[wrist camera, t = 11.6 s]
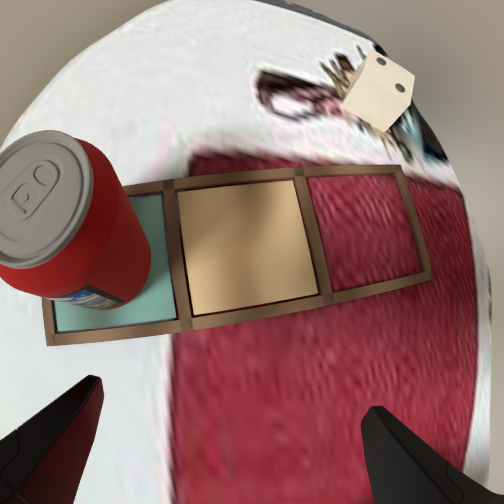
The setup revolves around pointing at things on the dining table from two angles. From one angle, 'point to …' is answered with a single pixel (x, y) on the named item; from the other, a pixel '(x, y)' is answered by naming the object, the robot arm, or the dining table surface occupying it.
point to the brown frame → (229, 255)
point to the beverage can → (68, 224)
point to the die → (379, 91)
